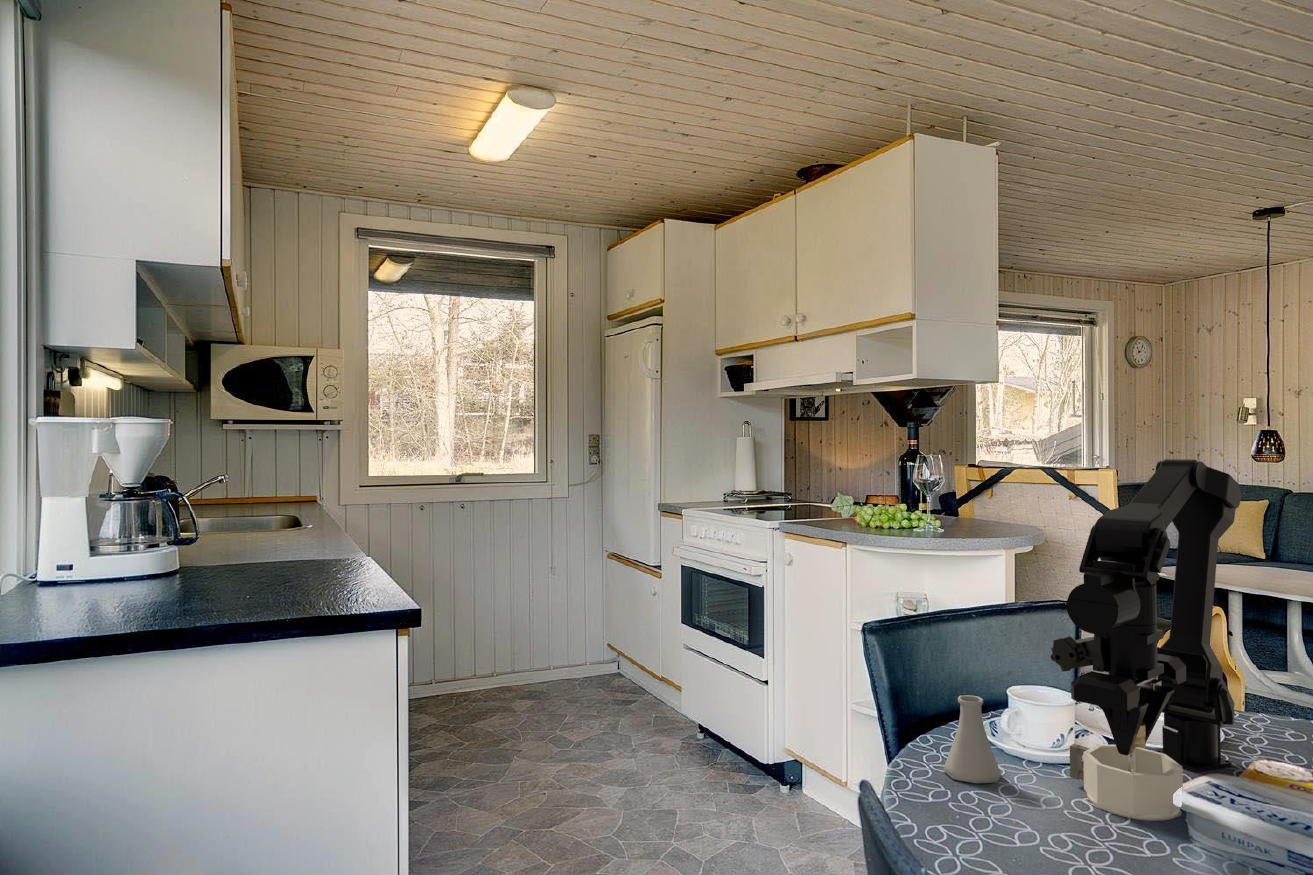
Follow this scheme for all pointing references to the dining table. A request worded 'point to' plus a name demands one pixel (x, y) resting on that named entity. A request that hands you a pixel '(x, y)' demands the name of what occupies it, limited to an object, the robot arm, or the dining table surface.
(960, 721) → the flask
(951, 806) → the dining table surface
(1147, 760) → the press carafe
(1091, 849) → the dining table surface
